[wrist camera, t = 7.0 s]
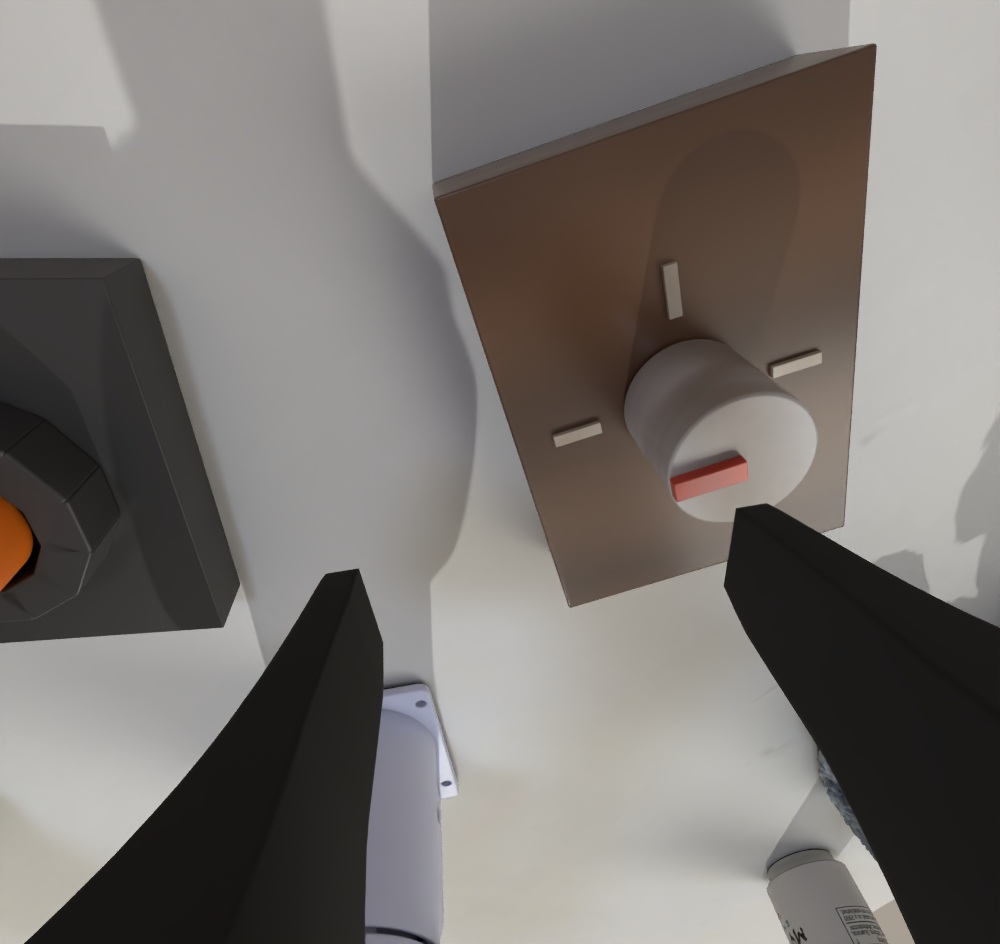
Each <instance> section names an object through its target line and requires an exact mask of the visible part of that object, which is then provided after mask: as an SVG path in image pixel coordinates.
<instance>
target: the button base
mask: <svg viewBox="0 0 1000 944" xmlns="http://www.w3.org/2000/svg"><path fill="white" fill-rule="evenodd" d="M0 496H1V497H2V498H4V499H5V500H6V501H8V502H9V503H11V504H12V505H13V506H15V507H16V508H17V509H18V510H19V511H20V512H21V514H22V515H23V516H24V518H25V519H26V521H27V522H28V524H29V526H30V529H31V532H32V536H33V548H32V552H31V555H30V557H29V559H28V560H27V562H26V563H25V564H24V565H23V566H22V567H21V568H20V570H19V571H18V572H17V573H16V574H15V575H14V576H13V578H12V579H11V580H10V581H9V582H8V583H7V584H6V585H5V587H4V588H3V589H2V590H1V591H0V643H9V642H23V641H37V640H51V639H66V638H80V637H94V636H108V635H122V634H137V633H151V632H165V631H179V630H194V629H208V628H222V627H224V625H225V622H226V620H227V617H228V614H229V612H230V609H231V607H232V604H233V601H234V599H235V596H236V594H237V591H238V588H239V586H240V582H239V579H238V576H237V572H236V569H235V566H234V562H233V559H232V556H231V553H230V549H229V546H228V543H227V540H226V536H225V533H224V530H223V527H222V523H221V520H220V517H219V514H218V510H217V507H216V504H215V501H214V497H213V494H212V491H211V488H210V484H209V481H208V478H207V474H206V471H205V468H204V465H203V461H202V458H201V455H200V452H199V448H198V445H197V442H196V439H195V435H194V432H193V429H192V426H191V422H190V419H189V416H188V413H187V409H186V406H185V403H184V400H183V396H182V393H181V390H180V387H179V383H178V380H177V377H176V373H175V370H174V367H173V364H172V360H171V357H170V354H169V351H168V347H167V344H166V341H165V338H164V334H163V331H162V328H161V325H160V321H159V318H158V315H157V312H156V308H155V305H154V302H153V299H152V295H151V292H150V289H149V285H148V282H147V279H146V276H145V272H144V269H143V266H142V263H141V260H140V259H138V258H0Z"/></svg>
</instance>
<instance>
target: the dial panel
mask: <svg viewBox="0 0 1000 944" xmlns="http://www.w3.org/2000/svg"><path fill="white" fill-rule="evenodd" d="M876 47H877V46H876V44H867V45H860V46H853V47H847V48H840V49H833V50H826V51H820V52H813V53H806V54H800V55H796V56H793V57H790V58H787V59H784V60H782V61H779V62H776V63H773V64H770V65H767V66H765V67H762V68H759V69H756V70H753V71H750V72H748V73H745V74H742V75H739V76H736V77H733V78H731V79H728V80H725V81H722V82H719V83H716V84H713V85H711V86H708V87H705V88H702V89H699V90H696V91H694V92H691V93H688V94H685V95H682V96H679V97H677V98H674V99H671V100H668V101H665V102H662V103H660V104H657V105H654V106H651V107H648V108H645V109H643V110H640V111H637V112H634V113H631V114H628V115H625V116H623V117H620V118H617V119H614V120H611V121H608V122H606V123H603V124H600V125H597V126H594V127H591V128H589V129H586V130H583V131H580V132H577V133H574V134H572V135H569V136H566V137H563V138H560V139H557V140H555V141H552V142H549V143H546V144H543V145H540V146H537V147H535V148H532V149H529V150H526V151H523V152H520V153H518V154H515V155H512V156H509V157H506V158H503V159H501V160H498V161H495V162H492V163H489V164H486V165H484V166H481V167H478V168H475V169H472V170H469V171H466V172H464V173H461V174H458V175H455V176H452V177H449V178H447V179H444V180H441V181H438V182H435V183H433V186H432V187H433V194H434V201H435V204H436V207H437V210H438V213H439V216H440V219H441V222H442V225H443V228H444V231H445V234H446V237H447V240H448V243H449V246H450V249H451V252H452V255H453V258H454V261H455V264H456V267H457V270H458V273H459V276H460V279H461V282H462V285H463V288H464V291H465V294H466V297H467V300H468V303H469V306H470V310H471V313H472V316H473V319H474V322H475V325H476V328H477V331H478V334H479V337H480V340H481V343H482V346H483V349H484V352H485V355H486V358H487V361H488V364H489V367H490V370H491V373H492V376H493V379H494V382H495V385H496V388H497V391H498V394H499V397H500V400H501V403H502V406H503V409H504V412H505V415H506V418H507V421H508V424H509V427H510V430H511V433H512V436H513V439H514V442H515V445H516V448H517V451H518V454H519V458H520V461H521V464H522V467H523V470H524V473H525V476H526V479H527V482H528V485H529V488H530V491H531V494H532V497H533V500H534V503H535V506H536V509H537V512H538V515H539V518H540V521H541V524H542V527H543V530H544V533H545V536H546V539H547V542H548V545H549V548H550V551H551V554H552V557H553V560H554V563H555V566H556V569H557V572H558V575H559V578H560V581H561V584H562V587H563V590H564V593H565V596H566V599H567V602H568V606H569V607H570V608H571V607H575V606H578V605H581V604H585V603H588V602H591V601H595V600H598V599H601V598H605V597H608V596H611V595H615V594H618V593H621V592H625V591H628V590H632V589H635V588H638V587H642V586H645V585H648V584H652V583H655V582H658V581H662V580H665V579H668V578H672V577H675V576H678V575H682V574H685V573H688V572H692V571H695V570H699V569H702V568H705V567H709V566H712V565H715V564H719V563H722V562H725V561H728V556H729V549H730V543H731V536H732V530H733V523H734V522H731V523H710V522H705V521H701V520H698V519H696V518H694V517H691V516H689V515H688V514H686V513H685V512H683V511H682V510H681V509H680V508H679V507H678V506H677V505H676V504H675V502H674V501H673V499H672V498H671V496H670V495H669V493H668V492H667V490H666V488H665V487H664V485H663V484H662V482H661V481H660V479H659V478H658V476H657V474H656V473H655V471H654V470H653V468H652V467H651V465H650V464H649V462H648V461H647V459H646V457H645V456H644V454H643V453H642V451H641V450H640V448H639V447H638V445H637V444H636V442H635V440H634V439H633V437H632V436H631V434H630V432H629V430H628V428H627V425H626V422H625V416H624V405H625V399H626V395H627V392H628V389H629V387H630V384H631V382H632V380H633V379H634V377H635V375H636V374H637V373H638V371H639V370H640V369H641V367H642V366H643V365H644V364H645V363H646V362H647V361H648V360H649V359H651V358H652V357H653V356H654V355H656V354H657V353H658V352H660V351H661V350H663V349H665V348H667V347H669V346H671V345H674V344H676V343H679V342H683V341H687V340H694V339H708V340H714V341H718V342H721V343H723V344H725V345H727V346H729V347H730V348H732V349H733V350H734V351H736V352H737V353H738V354H740V355H741V356H742V357H743V358H745V359H746V360H747V361H749V362H750V363H751V364H753V365H754V366H755V367H756V368H758V369H759V370H760V371H762V372H763V373H764V374H766V375H767V376H768V377H770V378H771V379H772V380H773V381H775V382H776V383H777V384H779V385H780V386H781V387H783V388H784V389H785V390H786V391H788V392H789V393H790V394H792V395H793V396H794V397H796V398H797V399H798V400H800V401H801V402H802V403H803V404H804V405H805V406H806V407H807V408H808V409H809V411H810V412H811V414H812V415H813V418H814V420H815V422H816V427H817V431H818V445H817V451H816V455H815V458H814V460H813V463H812V465H811V467H810V469H809V471H808V473H807V474H806V476H805V477H804V479H803V480H802V481H801V483H800V484H799V485H798V486H797V488H796V489H795V490H794V491H793V492H792V493H791V494H790V495H788V496H787V497H786V498H785V499H784V500H783V501H781V502H780V503H778V504H777V505H775V506H774V507H775V508H777V509H779V510H781V511H783V512H784V513H786V514H788V515H790V516H791V517H793V518H795V519H797V520H798V521H800V522H802V523H803V524H805V525H807V526H809V527H810V528H812V529H814V530H815V531H817V532H819V533H822V532H826V531H829V530H832V529H836V528H839V527H843V526H844V518H845V503H846V489H847V474H848V459H849V445H850V430H851V415H852V400H853V386H854V371H855V356H856V342H857V327H858V312H859V297H860V283H861V268H862V253H863V239H864V224H865V209H866V194H867V180H868V165H869V150H870V135H871V121H872V106H873V91H874V77H875V62H876Z"/></svg>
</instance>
